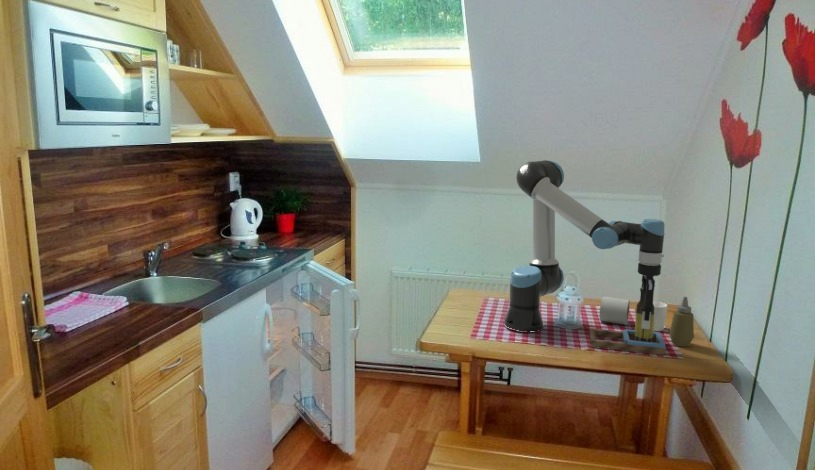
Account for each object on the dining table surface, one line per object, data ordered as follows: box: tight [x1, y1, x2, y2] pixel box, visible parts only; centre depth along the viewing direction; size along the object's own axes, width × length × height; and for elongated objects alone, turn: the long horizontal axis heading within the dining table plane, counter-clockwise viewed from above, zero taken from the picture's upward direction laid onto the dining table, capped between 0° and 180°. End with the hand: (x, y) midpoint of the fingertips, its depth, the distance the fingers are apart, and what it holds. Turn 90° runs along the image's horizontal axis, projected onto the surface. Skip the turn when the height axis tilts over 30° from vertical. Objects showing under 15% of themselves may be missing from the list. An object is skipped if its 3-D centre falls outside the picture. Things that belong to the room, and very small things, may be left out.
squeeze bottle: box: [669, 296, 695, 348], centre depth 213 cm, size 8×8×18 cm
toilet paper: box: [599, 296, 631, 326], centre depth 237 cm, size 10×10×10 cm
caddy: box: [589, 328, 666, 356], centre depth 214 cm, size 25×13×4 cm, turn 75°
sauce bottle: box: [634, 286, 654, 343], centre depth 211 cm, size 6×6×20 cm
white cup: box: [653, 300, 668, 332], centre depth 231 cm, size 8×8×10 cm
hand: (644, 325), depth 211 cm, fingers closed on sauce bottle, 6 cm apart
